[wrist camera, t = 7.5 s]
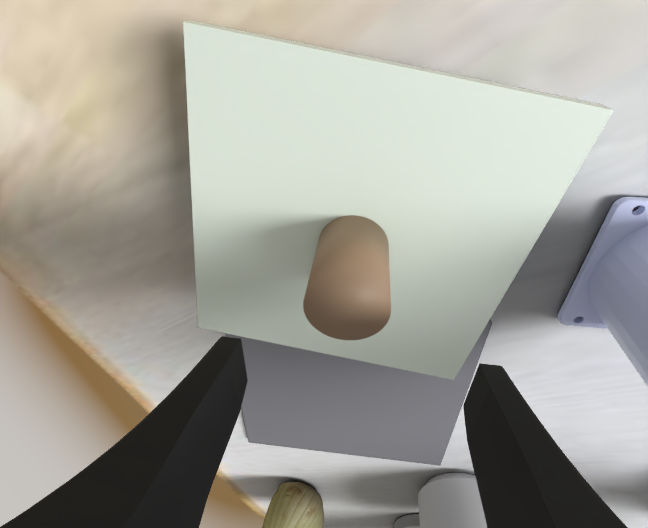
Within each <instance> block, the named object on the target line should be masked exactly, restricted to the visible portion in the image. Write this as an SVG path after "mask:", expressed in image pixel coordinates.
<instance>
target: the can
mask: <svg viewBox="0 0 648 528" xmlns="http://www.w3.org/2000/svg"><path fill="white" fill-rule="evenodd" d="M418 506H419V519H420V528H487V524H486V520H485V515H484V511H483V507H482V502H481V498H480V494H479V489H478V485H477V481H476V477H475V475H472V474H467V473H445V474H441V475H438V476H435V477H433V478H432V479H430V480H429V481H428V482H427V483H426V485H425V486H423V487H422V489H421V490H420V491H419V492H418Z"/></svg>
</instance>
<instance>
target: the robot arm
mask: <svg viewBox="0 0 648 528" xmlns="http://www.w3.org/2000/svg"><path fill="white" fill-rule="evenodd" d="M639 205H640V207H639V208H638V209H637V210H636V211H632V210H633V209H634V207H636V206H639ZM576 317H579V318H576ZM558 319H559V321H560V323H562V324H564V325H573V326H585V327H597V328H608V329H609V331H610V332H611V334H612V335H613V337H614V338H615V339H616V341H617V342H618V344H619V345H620V347H621V348H622V350H623V351H624V353H625V354H626V356H627V357H628V358H629V360H630V361H631V363H632V364H633V366H634V367H635V369H636V370H637V372H638V373H639V374H640V376H641V377H642V379H643V380H644V382H645V383H646V385H647V386H648V198H643V197H623V198H620V199H618V200H617V201H615V202H614V203H613V205H612V206H611V208H610V210H609V212H608V214H607V216H606V219H605V221H604V223H603V225H602V227H601V229H600V231H599V233H598V235H597V237H596V239H595V241H594V243H593V245H592V247H591V249H590V251H589V253H588V255H587V257H586V259H585V261H584V263H583V265H582V267H581V269H580V271H579V273H578V275H577V277H576V279H575V281H574V283H573V285H572V287H571V289H570V291H569V293H568V295H567V297H566V299H565V301H564V303H563V305H562V307H561V309H560V311H559V313H558ZM247 382H248V379H247V373H246V366H245V360H244V354H243V347H242V341H241V339H240V338H230V337H221V338H220V339H219V340H218V341H217V342H216V343H215V344H214V346H213V347H212V348H211V349H210V350H209V351H208V353H207V354H206V355H205V356H204V357H203V358H202V359H201V361H200V362H199V363H198V364H197V365H196V366H195V367H194V368H193V370H192V371H191V372H190V373H189V374H188V375H187V376H186V377H185V378H184V379H183V380H182V381H181V382H180V383H179V385H178V386H177V387H176V388H175V389H174V390H173V391H172V392H171V393H170V394H169V395H168V396H167V397H166V398H165V399H164V400H163V401H162V402H161V403H160V404H159V405H158V406H157V407H156V408H155V409H154V410H153V411H152V412H151V413H150V414H149V415H148V416H146V417H145V418H144V419H143V420H142V421H141V422H140V423H139V424H138V425H137V426H136V427H135V428H134V429H132V430H131V431H130V432H129V433H128V434H127V435H125V436H124V437H123V438H122V439H121V440H120V441H119V442H117V443H116V444H115V445H114V446H113V447H111V448H110V449H109V450H108V451H106V452H105V453H104V454H103V455H101V456H100V457H99V458H98V459H96V460H95V461H94V462H93V463H91V464H90V465H89V466H88V467H86V468H85V469H84V470H83V471H81V472H80V473H78V474H77V475H76V476H74V477H73V478H72V479H70V480H69V481H68V482H66V483H65V484H64V485H62V486H60V487H59V488H58V489H56V490H55V491H54V492H52V493H51V494H49V495H48V496H46V497H45V498H43V499H42V500H41V501H39V502H38V503H36V504H35V505H33V506H32V507H31V508H30V509H28V510H26V511H25V512H23V513H22V514H20V515H19V516H17V517H16V518H14V519H12V520H11V521H9V522H8V523H6V524H5V525H3V526H1V527H0V528H199V525H200V521H201V518H202V514H203V511H204V508H205V504H206V501H207V498H208V495H209V492H210V489H211V486H212V483H213V480H214V478H215V475H216V473H217V470H218V468H219V465H220V462H221V460H222V457H223V455H224V452H225V449H226V447H227V444H228V442H229V439H230V436H231V434H232V431H233V429H234V426H235V423H236V421H237V418H238V415H239V413H240V409H241V405H242V402H243V398H244V394H245V390H246V386H247ZM464 415H465V425H466V433H467V441H468V446H469V450H470V455H471V459H472V463H473V468H474V472H475V477H476V481H477V485H478V489H479V494H480V498H481V502H482V507H483V511H484V515H485V520H486V524H487V528H627V527H626V525H625V524H624V523H623V522H622V521H621V520H620V519H619V518H618V517H617V516H616V515H615V514H614V512H613V511H612V510H611V509H610V508H609V507H608V506H607V505H606V504H605V502H604V501H603V500H602V499H601V498H600V497H599V496H598V494H597V493H596V492H595V491H594V490H593V489H592V487H591V486H590V485H589V484H588V483H587V481H586V480H585V479H584V478H583V477H582V475H581V474H580V473H579V472H578V471H577V469H576V468H575V467H574V466H573V464H572V463H571V462H570V461H569V459H568V458H567V457H566V456H565V454H564V453H563V452H562V450H561V449H560V448H559V447H558V445H557V444H556V443H555V441H554V440H553V438H552V437H551V436H550V434H549V433H548V432H547V430H546V429H545V428H544V426H543V425H542V424H541V422H540V421H539V420H538V418H537V417H536V415H535V414H534V413H533V411H532V410H531V408H530V407H529V405H528V404H527V402H526V401H525V400H524V398H523V397H522V395H521V394H520V392H519V391H518V389H517V388H516V386H515V385H514V383H513V382H512V380H511V379H510V377H509V376H508V374H507V373H506V371H505V370H504V369H503V367H502V366H497V365H488V364H479V367H478V369H477V372H476V375H475V377H474V380H473V382H472V385H471V387H470V390H469V393H468V395H467V398H466V400H465V403H464Z"/></svg>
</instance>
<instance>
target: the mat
mask: <svg viewBox="0 0 648 528" xmlns="http://www.w3.org/2000/svg"><path fill="white" fill-rule="evenodd" d="M491 325H492V322H491V319H490V320H489V322H488V323H487V325H486V327H485V328H484V330H483V332H482V333H481V335H480V337H479V338H478V340H477V342H476V344H475V345H474V347H473V349H472V350H471V352H470V354H469V355H468V357H467V359H466V360H465V362H464V364H463V365H462V367H461V369H460V370H459V372H458V374H457V376H456V377H455V379H454V380H451V379H446V378H441V377H437V376H432V375H427V374H422V373H417V372H412V371H407V370H402V369H398V368H393V367H388V366H383V365H378V364H373V363H368V362H363V361H358V360H354V359H349V358H344V357H339V356H334V355H329V354H324V353H319V352H315V351H310V350H305V349H300V348H295V347H290V346H285V345H280V344H275V343H271V342H266V341H261V340H256V339H251V338H246V337H241V336H236V335H232V334H227V337H230V338H240V339H241V341H242V347H243V354H244V360H245V366H246V373H247V379H248V382H247V386H246V390H245V394H244V398H243V402H242V405H241V407H242V412H243V417H244V422H245V427H246V432H247V437H248V442H250V443H259V444H267V445H275V446H283V447H292V448H300V449H308V450H316V451H325V452H333V453H341V454H349V455H358V456H366V457H374V458H382V459H391V460H399V461H407V462H415V463H424V464H432V465H440V464H441V462H442V459H443V456H444V453H445V451H446V448H447V445H448V443H449V440H450V437H451V434H452V432H453V429H454V426H455V423H456V421H457V418H458V415H459V412H460V410H461V407H462V404H463V401H464V399H465V396H466V393H467V390H468V388H469V385H470V382H471V379H472V377H473V374H474V371H475V368H476V366H477V363H478V360H479V358H480V355H481V352H482V349H483V347H484V344H485V341H486V338H487V336H488V333H489V330H490V327H491Z"/></svg>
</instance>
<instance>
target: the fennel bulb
mask: <svg viewBox="0 0 648 528" xmlns="http://www.w3.org/2000/svg"><path fill="white" fill-rule="evenodd" d="M323 522H324V512H323V503H322V499H321V496H320V495H319V493H318V492H317V491H316V490H315V489H313V488H312V487H310V486H309V485H306V484H304V483H301V482H284V483H281V484H280V485H279V487H278V490H277V492H276V493H275V494H274V496H273V498H272V500H271V502H270V505H269V508H268V511H267V514H266V517H265V519H264V523H263V527H262V528H323Z"/></svg>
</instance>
